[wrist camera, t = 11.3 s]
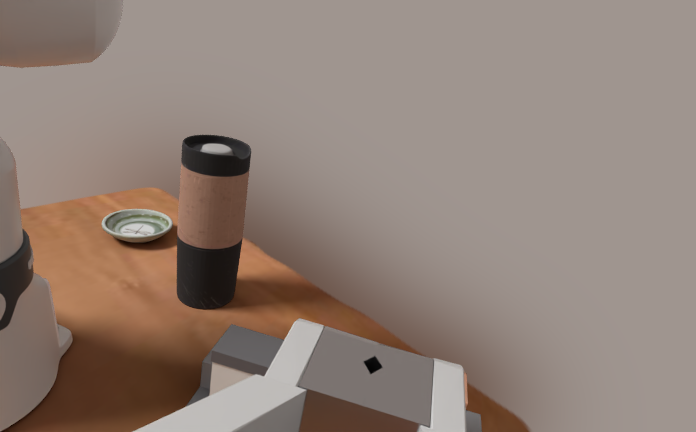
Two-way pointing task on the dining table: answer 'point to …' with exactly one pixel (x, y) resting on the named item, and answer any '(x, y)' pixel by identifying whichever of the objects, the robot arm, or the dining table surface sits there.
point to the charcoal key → (241, 356)
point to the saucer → (137, 225)
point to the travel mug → (211, 218)
